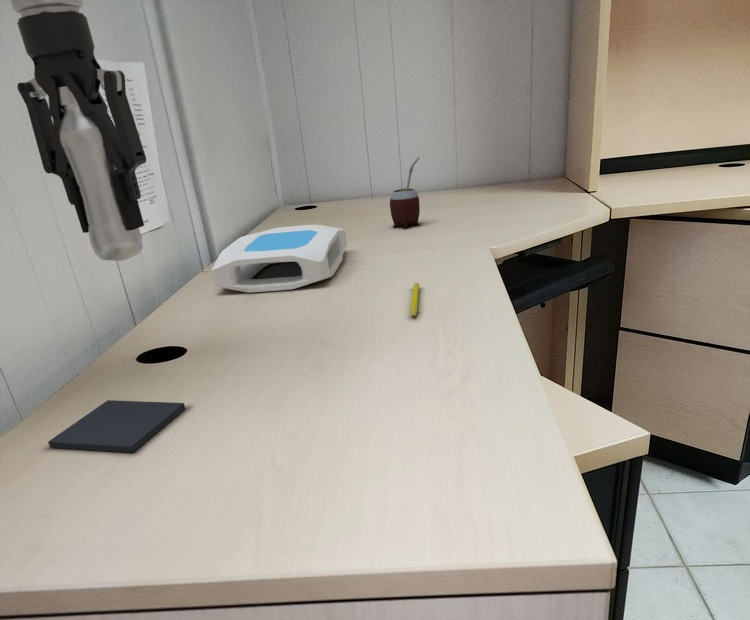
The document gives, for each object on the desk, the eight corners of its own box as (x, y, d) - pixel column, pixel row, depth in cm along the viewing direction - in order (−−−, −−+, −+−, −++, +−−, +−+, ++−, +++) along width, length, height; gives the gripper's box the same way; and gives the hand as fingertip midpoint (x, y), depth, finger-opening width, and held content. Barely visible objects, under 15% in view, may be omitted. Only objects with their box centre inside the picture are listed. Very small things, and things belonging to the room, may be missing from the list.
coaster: (50, 447, 74) (47, 441, 73) (109, 405, 83) (107, 399, 82) (133, 453, 71) (130, 446, 70) (185, 408, 79) (184, 402, 79)
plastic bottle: (118, 254, 93) (68, 87, 82) (157, 253, 91) (111, 82, 80) (86, 266, 88) (29, 90, 77) (126, 265, 86) (74, 84, 75)
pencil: (413, 288, 113) (413, 282, 112) (419, 288, 113) (419, 282, 112) (410, 319, 99) (409, 312, 98) (416, 318, 99) (416, 312, 98)
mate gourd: (393, 224, 164) (387, 157, 155) (424, 221, 162) (420, 153, 154) (390, 230, 157) (384, 160, 149) (423, 227, 156) (419, 157, 148)
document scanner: (348, 251, 143) (344, 221, 139) (326, 287, 119) (321, 252, 116) (254, 259, 146) (248, 229, 142) (215, 295, 123) (207, 261, 119)
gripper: (-42, 24, 75) (35, 238, 87) (102, -1, 69) (161, 232, 82) (6, 26, 80) (71, 226, 93) (141, 3, 75) (191, 219, 88)
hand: (113, 228), depth 87 cm, fingers closed on plastic bottle, 6 cm apart
